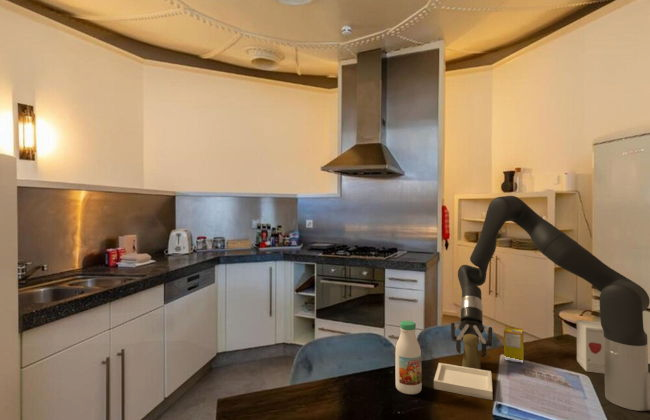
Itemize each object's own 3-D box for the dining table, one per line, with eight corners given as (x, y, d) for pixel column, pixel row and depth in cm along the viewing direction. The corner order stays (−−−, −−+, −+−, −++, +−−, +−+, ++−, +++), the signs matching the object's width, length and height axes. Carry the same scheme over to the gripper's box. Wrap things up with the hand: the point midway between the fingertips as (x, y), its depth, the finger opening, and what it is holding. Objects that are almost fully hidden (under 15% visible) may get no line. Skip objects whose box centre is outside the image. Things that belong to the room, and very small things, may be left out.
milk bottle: (390, 389, 103) (390, 322, 104) (403, 380, 109) (403, 317, 109) (413, 398, 98) (413, 328, 98) (426, 388, 104) (425, 322, 104)
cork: (478, 372, 114) (478, 339, 114) (459, 367, 117) (459, 335, 118) (482, 366, 119) (482, 334, 119) (464, 361, 122) (464, 330, 123)
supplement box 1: (523, 358, 125) (523, 328, 125) (523, 364, 120) (522, 333, 120) (505, 354, 128) (505, 325, 128) (504, 360, 123) (503, 330, 123)
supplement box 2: (585, 371, 114) (584, 326, 114) (576, 361, 122) (575, 319, 122) (619, 376, 111) (618, 329, 111) (607, 364, 119) (606, 321, 119)
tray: (491, 378, 109) (491, 371, 109) (492, 400, 96) (492, 391, 97) (439, 369, 116) (438, 362, 116) (433, 388, 103) (433, 380, 103)
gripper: (450, 303, 128) (448, 345, 117) (492, 307, 122) (494, 352, 111) (451, 314, 133) (449, 355, 122) (492, 318, 127) (494, 362, 116)
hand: (471, 354), depth 117 cm, fingers open, 7 cm apart
